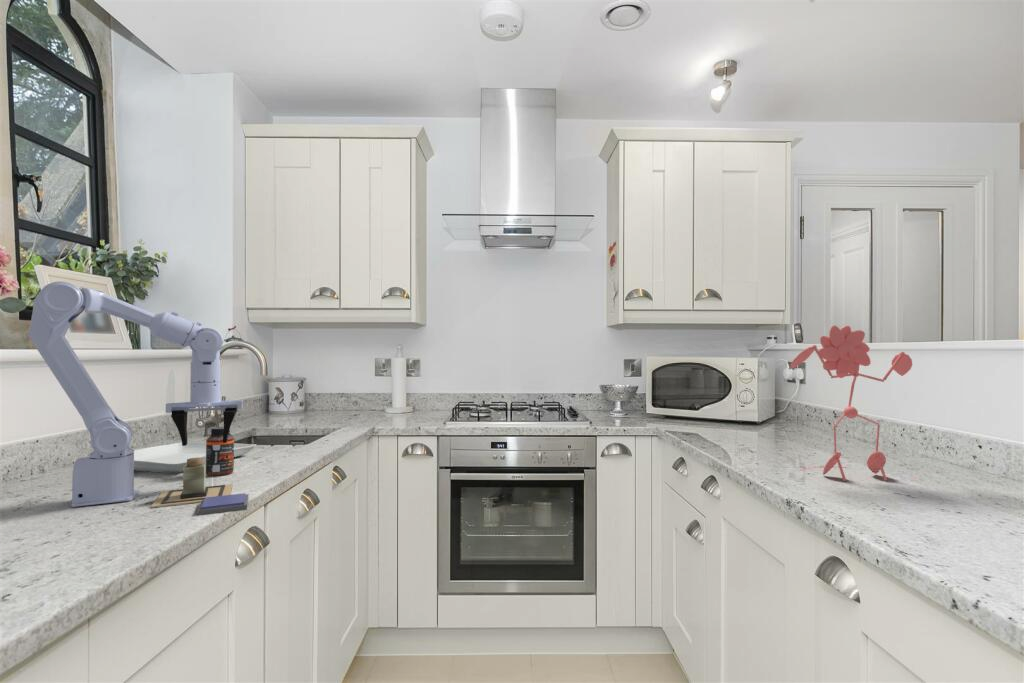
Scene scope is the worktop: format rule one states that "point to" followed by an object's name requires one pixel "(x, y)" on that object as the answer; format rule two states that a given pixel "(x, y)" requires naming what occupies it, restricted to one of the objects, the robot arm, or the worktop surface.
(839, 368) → the figurine
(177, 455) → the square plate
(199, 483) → the stamp
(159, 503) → the sheet
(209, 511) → the ink pad
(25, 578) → the worktop surface
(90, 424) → the robot arm
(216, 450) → the supplement bottle
